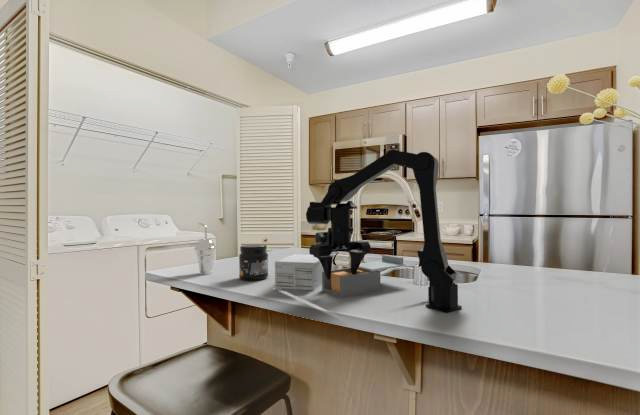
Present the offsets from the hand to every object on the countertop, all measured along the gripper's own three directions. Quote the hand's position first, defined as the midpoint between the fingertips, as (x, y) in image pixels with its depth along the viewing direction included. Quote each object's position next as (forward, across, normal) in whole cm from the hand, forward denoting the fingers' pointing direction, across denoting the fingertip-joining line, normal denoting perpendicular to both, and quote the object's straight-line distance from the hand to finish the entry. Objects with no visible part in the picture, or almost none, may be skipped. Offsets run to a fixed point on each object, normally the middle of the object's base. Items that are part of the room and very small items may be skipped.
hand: (341, 277), depth 99 cm
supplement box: (+6, +3, -17) cm, 18 cm away
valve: (+5, -16, -15) cm, 22 cm away
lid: (-2, -15, 0) cm, 15 cm away
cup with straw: (+6, +24, -57) cm, 62 cm away
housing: (+5, -4, 0) cm, 6 cm away
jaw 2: (+4, -7, 0) cm, 9 cm away
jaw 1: (+4, 0, 0) cm, 4 cm away
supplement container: (+6, +12, -37) cm, 39 cm away
